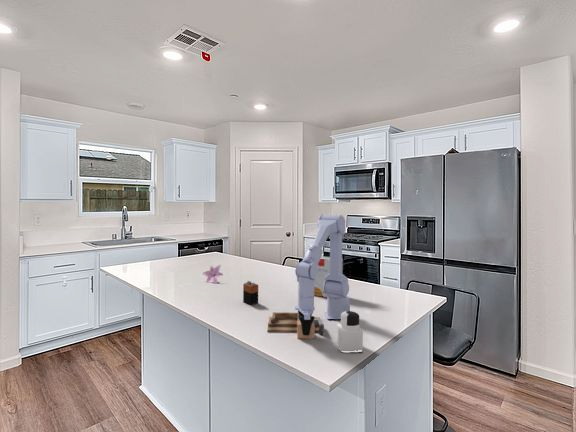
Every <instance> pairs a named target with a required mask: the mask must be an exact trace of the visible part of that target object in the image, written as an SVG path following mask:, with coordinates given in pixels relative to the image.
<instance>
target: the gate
mask: <svg viewBox="0 0 576 432" xmlns="http://www.w3.org/2000/svg"><path fill="white" fill-rule="evenodd" d="M298 321H300V320H299V319H298ZM314 324H319V332H318V335H324V330H325V326H324V325H325V324H324V323H323V321H322V318H320V319H314Z"/></svg>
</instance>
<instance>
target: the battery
mask: <svg viewBox="0 0 576 432" xmlns="http://www.w3.org/2000/svg"><path fill="white" fill-rule="evenodd" d="M242 286H243V288H242V289H243V290H242V291H243V294H242V296H243V298H242V302H243V303H246V304H248V305H251V306H254V305H257V304H259V284H257V283H255V282H252V281H251V280H248V281H247V280H246V282H244V283H243V285H242Z"/></svg>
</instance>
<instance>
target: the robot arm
mask: <svg viewBox="0 0 576 432" xmlns="http://www.w3.org/2000/svg"><path fill="white" fill-rule="evenodd" d="M345 234H346V219H345V216H343V215H342V214H340V215H337V214H335V215H333V214H320V215H319V217H318V218H317V231H316V235H315V238H314V241H313V243H312V244H311V245H309V246H308V248H307V250H306V252H305V254H304V256H303V259H302V260H301V261H300V262H298V263H297V264H296V267H295V277H296V281H297V283H298V285H297V286H298V289H297V290H298V297H297V298H298V299H297V304H298V305H296V306H294V310H295V311H297V313H299V315H298V317H299V320H300V322H301V325H302V332H303V335H309V334H310V329H311V325H312V322H313V321H314V318H315V316H314V315H313V313H314V311H315V309H316V308H315V295H314V279H315V278H316V276H317V274H318V267H319V265H318V263H319V261H320V258H321V256H323V254H324V251H323V249H322V248H323V247H324V245H325V243H326V241H327V240H328V238H330V239H329V257H330V274H328V275H327V276H325V279H324V284H323V290H324V292H325V293H326V296H327V297H326V312H324V314H325V317H326V320H328V319H341V313H342V312H345V311H351V301H350V300H351V299H350V297H349V296H348V295H349V291H350V285H349V279H348V277H347V276H345V274H342V259H343V235H345Z"/></svg>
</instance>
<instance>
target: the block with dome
mask: <svg viewBox="0 0 576 432" xmlns="http://www.w3.org/2000/svg"><path fill="white" fill-rule="evenodd" d="M314 330H315V324H314V321H313V322H312V325H311V329H310V334H309V335H303V332H302V325H301V322H300V321H297V332H296V335H297V339H300V338H314V339H315V332H314Z"/></svg>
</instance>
